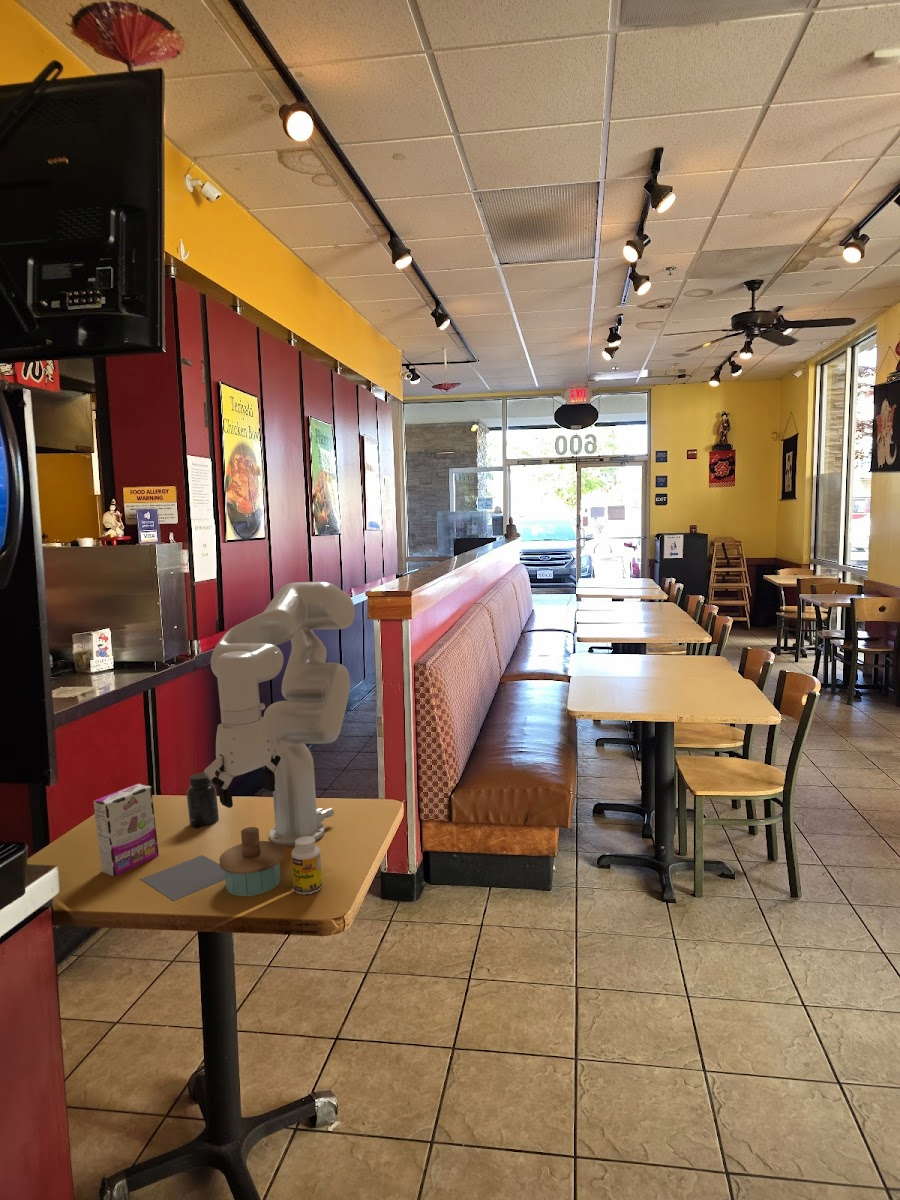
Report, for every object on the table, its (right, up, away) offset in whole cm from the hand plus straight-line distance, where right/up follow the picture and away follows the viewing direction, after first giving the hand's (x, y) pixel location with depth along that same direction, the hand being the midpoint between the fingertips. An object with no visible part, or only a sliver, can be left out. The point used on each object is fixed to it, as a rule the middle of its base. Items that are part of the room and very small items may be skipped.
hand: (248, 797), depth 155 cm
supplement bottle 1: (-20, -15, +34) cm, 42 cm away
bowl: (+1, -18, +2) cm, 18 cm away
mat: (-14, -18, +5) cm, 23 cm away
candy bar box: (-29, -18, +13) cm, 36 cm away
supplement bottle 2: (+12, -18, -1) cm, 22 cm away
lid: (0, -13, +1) cm, 13 cm away
